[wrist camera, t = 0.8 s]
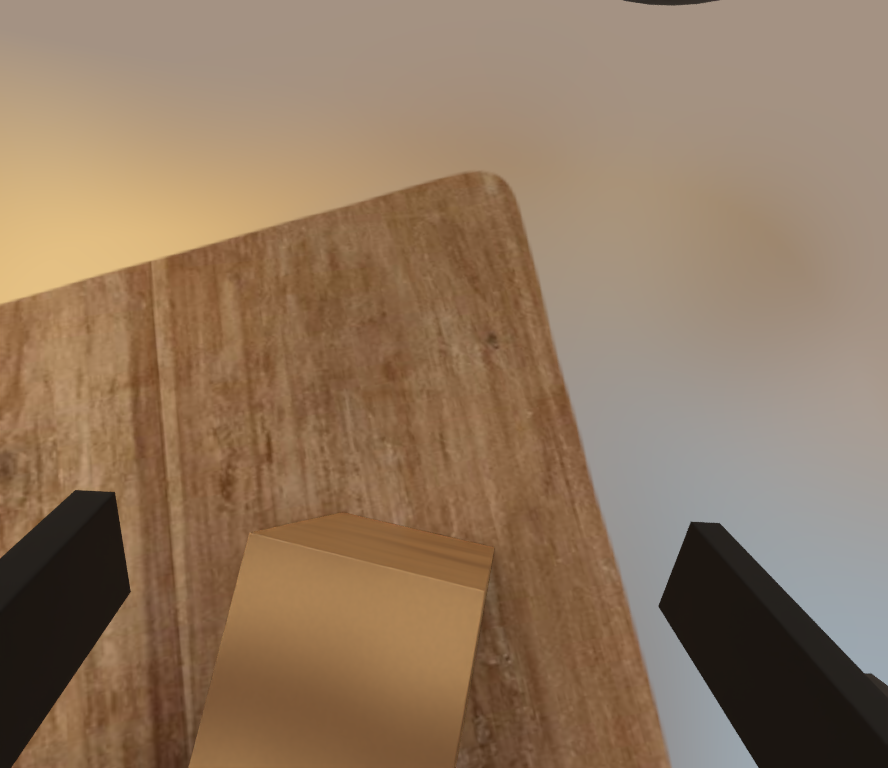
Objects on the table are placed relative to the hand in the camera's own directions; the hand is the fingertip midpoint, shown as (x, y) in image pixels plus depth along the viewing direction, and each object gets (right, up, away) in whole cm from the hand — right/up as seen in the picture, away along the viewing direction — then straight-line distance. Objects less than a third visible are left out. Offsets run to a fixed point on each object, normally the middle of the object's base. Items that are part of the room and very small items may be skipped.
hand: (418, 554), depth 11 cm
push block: (-2, -9, +15) cm, 17 cm away
